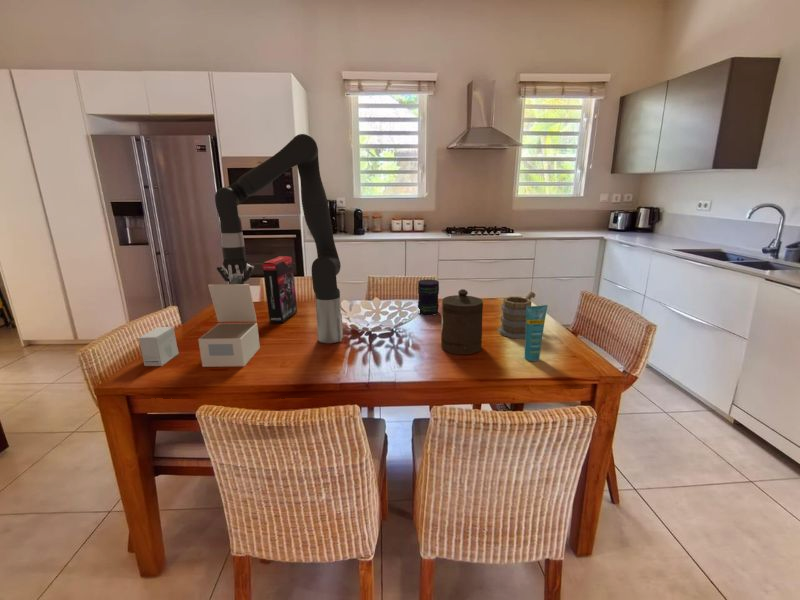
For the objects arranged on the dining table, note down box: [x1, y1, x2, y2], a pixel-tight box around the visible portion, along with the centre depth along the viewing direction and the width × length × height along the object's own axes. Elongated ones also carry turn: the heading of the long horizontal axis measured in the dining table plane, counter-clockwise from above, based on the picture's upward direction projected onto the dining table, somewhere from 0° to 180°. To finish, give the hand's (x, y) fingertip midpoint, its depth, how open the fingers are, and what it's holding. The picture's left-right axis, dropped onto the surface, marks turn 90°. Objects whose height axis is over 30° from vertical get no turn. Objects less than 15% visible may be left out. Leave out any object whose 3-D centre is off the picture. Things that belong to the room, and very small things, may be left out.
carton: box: [198, 322, 261, 368], centre depth 141 cm, size 14×16×10 cm
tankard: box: [497, 291, 536, 339], centre depth 164 cm, size 20×13×15 cm, turn 131°
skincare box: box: [137, 326, 180, 367], centre depth 139 cm, size 10×6×10 cm, turn 178°
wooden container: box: [440, 288, 484, 356], centre depth 147 cm, size 15×15×22 cm
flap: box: [207, 273, 258, 323], centre depth 148 cm, size 14×15×11 cm
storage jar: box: [417, 279, 440, 316], centre depth 189 cm, size 10×10×15 cm
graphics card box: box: [262, 255, 298, 324], centre depth 181 cm, size 17×7×27 cm, turn 172°
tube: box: [523, 304, 548, 362], centre depth 137 cm, size 7×5×19 cm, turn 103°
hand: (238, 292), depth 148 cm, fingers closed on flap
